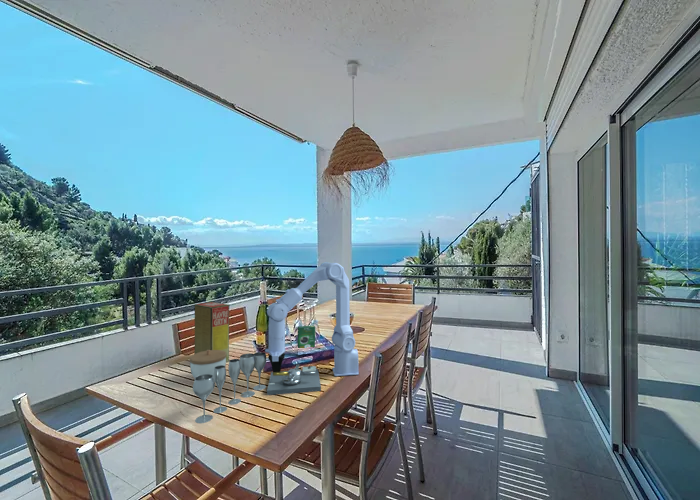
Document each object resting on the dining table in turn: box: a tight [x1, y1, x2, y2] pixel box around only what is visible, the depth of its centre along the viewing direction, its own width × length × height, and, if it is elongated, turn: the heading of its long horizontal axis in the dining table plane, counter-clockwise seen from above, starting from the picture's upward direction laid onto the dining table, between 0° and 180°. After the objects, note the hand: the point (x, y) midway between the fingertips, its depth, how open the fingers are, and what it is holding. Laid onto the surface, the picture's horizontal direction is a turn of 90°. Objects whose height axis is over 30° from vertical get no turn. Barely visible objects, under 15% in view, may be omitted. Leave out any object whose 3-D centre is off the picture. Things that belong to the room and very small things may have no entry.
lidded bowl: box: [189, 350, 227, 381], centre depth 118 cm, size 13×13×11 cm
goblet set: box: [192, 351, 267, 424], centre depth 100 cm, size 28×6×13 cm, turn 154°
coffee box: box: [296, 324, 316, 348], centre depth 145 cm, size 8×3×13 cm, turn 110°
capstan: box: [272, 363, 316, 385], centre depth 111 cm, size 15×15×4 cm
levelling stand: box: [266, 365, 322, 396], centre depth 114 cm, size 18×16×4 cm
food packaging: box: [193, 301, 230, 363], centre depth 137 cm, size 13×9×25 cm
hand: (276, 374), depth 112 cm, fingers closed, pressing on capstan
